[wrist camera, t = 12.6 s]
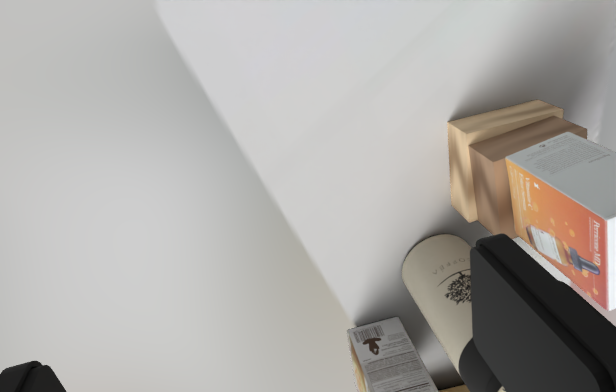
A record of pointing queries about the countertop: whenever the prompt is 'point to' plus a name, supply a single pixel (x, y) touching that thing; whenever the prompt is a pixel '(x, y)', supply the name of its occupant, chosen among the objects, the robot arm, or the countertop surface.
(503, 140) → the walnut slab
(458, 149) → the oak slab
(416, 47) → the countertop surface
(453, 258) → the travel mug
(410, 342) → the coffee box
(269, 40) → the countertop surface
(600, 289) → the small box
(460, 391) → the bread roll
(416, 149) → the countertop surface
